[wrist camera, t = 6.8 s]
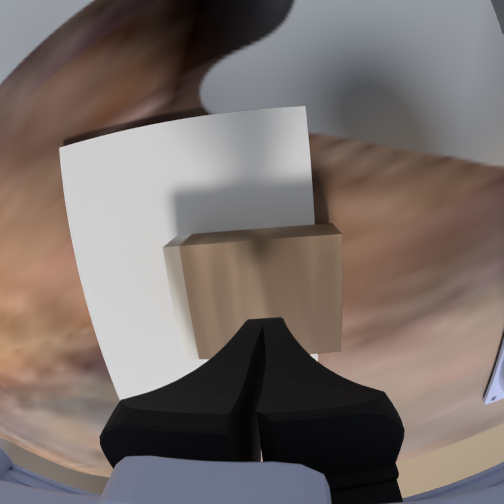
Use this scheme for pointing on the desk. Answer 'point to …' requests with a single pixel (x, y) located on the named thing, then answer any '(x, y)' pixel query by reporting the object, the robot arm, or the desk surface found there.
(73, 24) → the desk surface
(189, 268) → the brown wooden block
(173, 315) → the mat
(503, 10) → the lighter
